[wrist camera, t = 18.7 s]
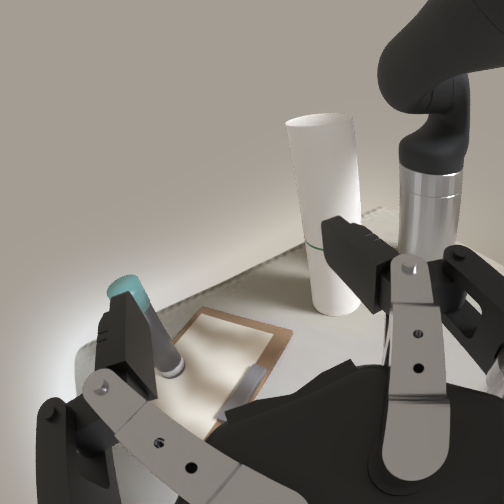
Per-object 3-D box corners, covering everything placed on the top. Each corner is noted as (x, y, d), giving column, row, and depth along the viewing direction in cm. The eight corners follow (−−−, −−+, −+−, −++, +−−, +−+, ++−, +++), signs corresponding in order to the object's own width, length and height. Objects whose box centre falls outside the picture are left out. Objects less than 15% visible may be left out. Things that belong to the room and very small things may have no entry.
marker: (171, 352, 39) (125, 271, 32) (191, 362, 37) (145, 278, 30) (154, 372, 37) (100, 293, 29) (173, 383, 34) (119, 302, 27)
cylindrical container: (359, 280, 44) (348, 111, 31) (363, 314, 39) (356, 122, 25) (313, 283, 46) (288, 117, 33) (311, 317, 41) (282, 129, 27)
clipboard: (204, 309, 47) (200, 301, 46) (292, 334, 39) (291, 325, 38) (111, 417, 32) (104, 411, 31) (200, 479, 24) (193, 475, 23)
